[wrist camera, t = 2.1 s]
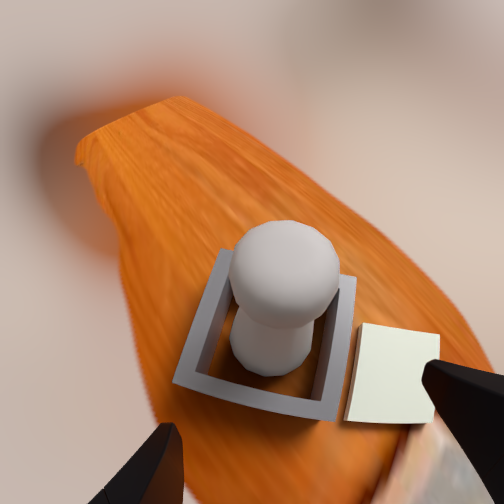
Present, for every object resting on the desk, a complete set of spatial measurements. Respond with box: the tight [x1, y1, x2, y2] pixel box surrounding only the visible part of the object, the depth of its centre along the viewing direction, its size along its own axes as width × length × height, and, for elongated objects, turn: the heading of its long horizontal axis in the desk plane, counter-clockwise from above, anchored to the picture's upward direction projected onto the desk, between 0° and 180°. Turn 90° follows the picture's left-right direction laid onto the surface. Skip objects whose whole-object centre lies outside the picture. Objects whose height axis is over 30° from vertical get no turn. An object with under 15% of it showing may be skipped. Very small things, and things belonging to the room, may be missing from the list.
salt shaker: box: [228, 220, 340, 376], centre depth 15 cm, size 6×6×13 cm
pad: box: [343, 323, 440, 423], centre depth 18 cm, size 8×8×1 cm
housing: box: [172, 248, 357, 422], centre depth 19 cm, size 10×10×4 cm
